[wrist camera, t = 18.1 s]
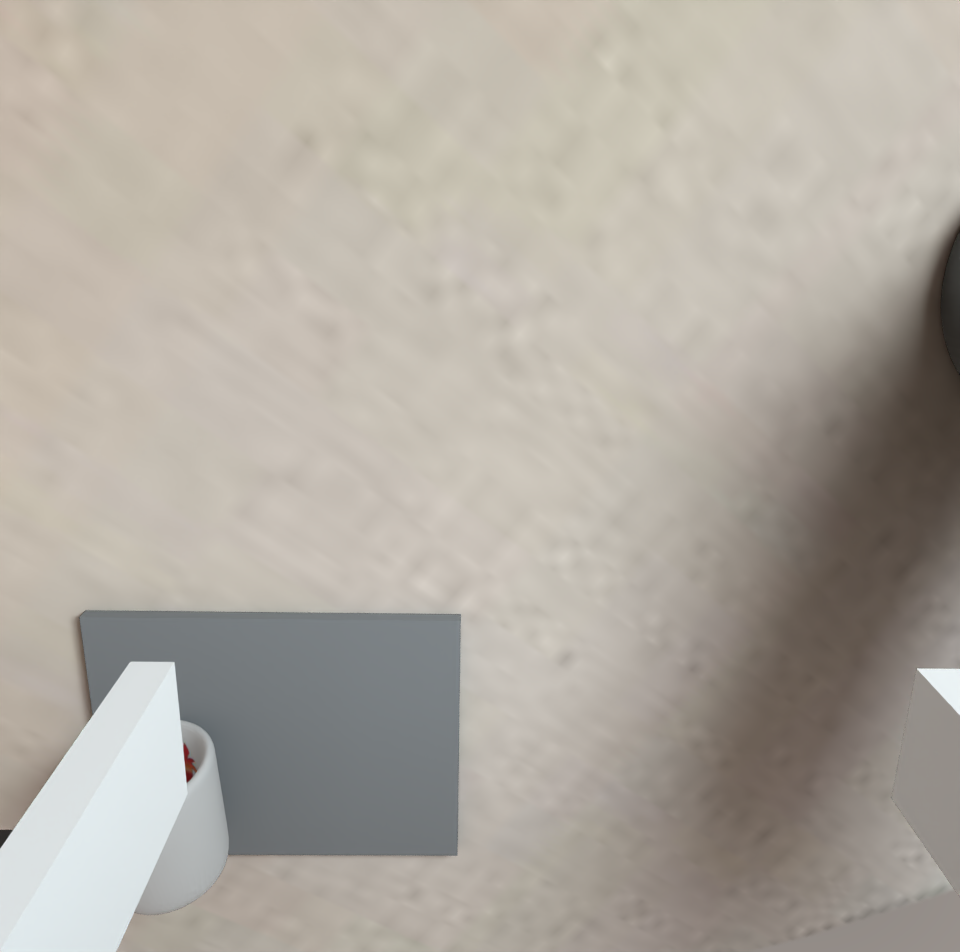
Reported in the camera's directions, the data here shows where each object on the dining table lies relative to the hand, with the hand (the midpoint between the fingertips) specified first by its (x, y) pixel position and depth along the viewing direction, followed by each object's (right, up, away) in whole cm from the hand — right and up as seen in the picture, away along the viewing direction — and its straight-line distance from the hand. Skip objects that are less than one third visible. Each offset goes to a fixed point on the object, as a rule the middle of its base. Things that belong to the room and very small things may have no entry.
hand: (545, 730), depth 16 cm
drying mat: (-13, -11, +37) cm, 40 cm away
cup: (-20, -18, +36) cm, 45 cm away
